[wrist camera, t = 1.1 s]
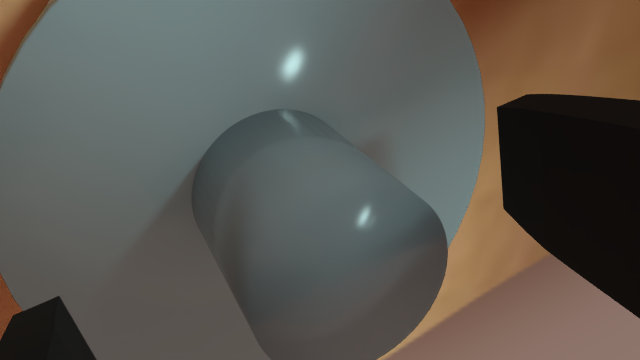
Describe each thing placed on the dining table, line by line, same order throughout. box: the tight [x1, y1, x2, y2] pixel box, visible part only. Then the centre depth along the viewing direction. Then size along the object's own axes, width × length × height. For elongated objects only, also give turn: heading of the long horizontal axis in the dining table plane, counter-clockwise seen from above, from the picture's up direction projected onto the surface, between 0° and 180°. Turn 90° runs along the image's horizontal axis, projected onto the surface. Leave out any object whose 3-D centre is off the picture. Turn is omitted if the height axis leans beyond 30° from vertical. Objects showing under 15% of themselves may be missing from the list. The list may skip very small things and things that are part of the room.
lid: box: [0, 0, 485, 360], centre depth 10 cm, size 9×9×4 cm
